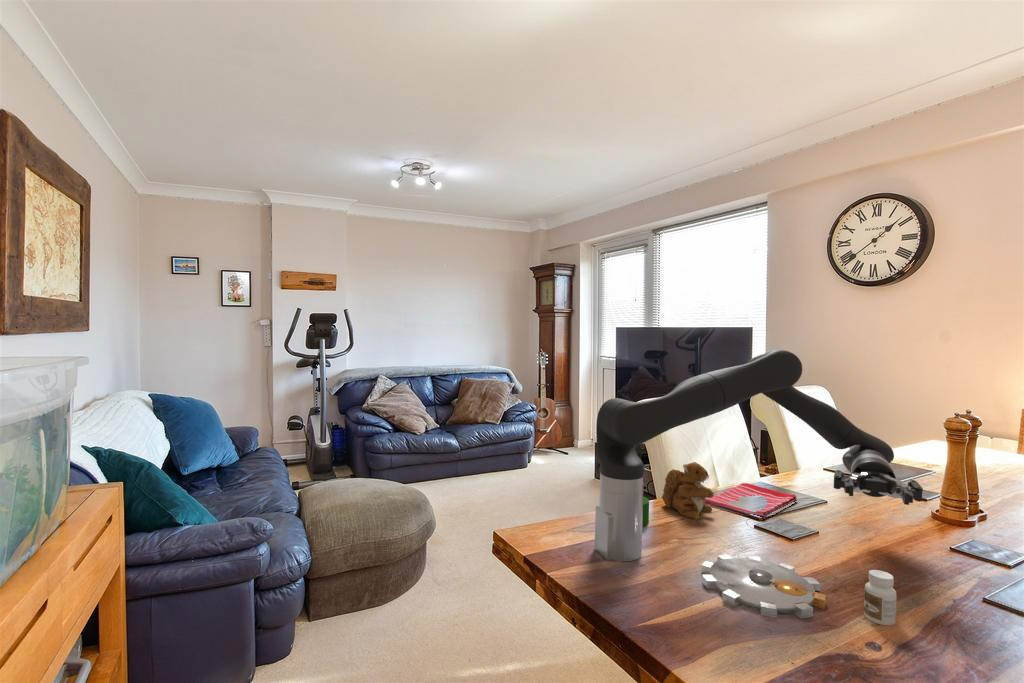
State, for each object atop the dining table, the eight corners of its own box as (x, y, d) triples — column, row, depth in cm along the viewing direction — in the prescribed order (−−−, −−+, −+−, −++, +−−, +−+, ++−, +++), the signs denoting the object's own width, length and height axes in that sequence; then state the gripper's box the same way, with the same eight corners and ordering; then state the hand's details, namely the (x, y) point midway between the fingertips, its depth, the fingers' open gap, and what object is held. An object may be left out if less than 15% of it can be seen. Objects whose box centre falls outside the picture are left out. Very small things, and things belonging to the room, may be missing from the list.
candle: (649, 517, 133) (650, 479, 132) (647, 529, 125) (648, 488, 124) (617, 512, 135) (618, 475, 135) (613, 524, 127) (614, 484, 127)
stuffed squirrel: (698, 521, 130) (700, 470, 130) (651, 506, 141) (652, 458, 141) (718, 513, 137) (720, 464, 136) (671, 498, 147) (673, 453, 147)
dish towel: (799, 504, 146) (799, 494, 146) (763, 523, 131) (764, 513, 131) (740, 489, 159) (740, 480, 159) (701, 505, 144) (701, 496, 144)
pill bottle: (857, 612, 89) (859, 568, 89) (881, 611, 90) (882, 567, 90) (877, 626, 85) (879, 580, 85) (902, 626, 85) (904, 580, 85)
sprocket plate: (755, 626, 84) (756, 611, 84) (679, 567, 105) (679, 555, 105) (854, 609, 90) (854, 595, 90) (763, 556, 111) (763, 545, 110)
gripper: (833, 452, 114) (834, 469, 100) (914, 461, 106) (927, 481, 92) (832, 485, 114) (833, 507, 100) (913, 497, 106) (926, 522, 93)
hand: (878, 495), depth 96 cm, fingers open, 8 cm apart
